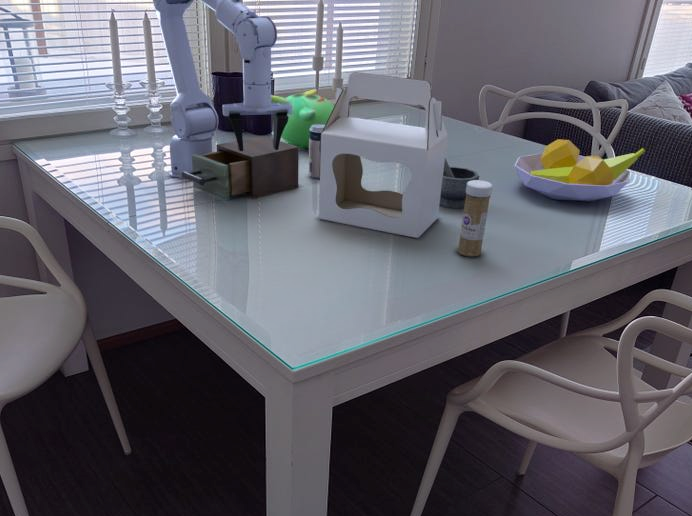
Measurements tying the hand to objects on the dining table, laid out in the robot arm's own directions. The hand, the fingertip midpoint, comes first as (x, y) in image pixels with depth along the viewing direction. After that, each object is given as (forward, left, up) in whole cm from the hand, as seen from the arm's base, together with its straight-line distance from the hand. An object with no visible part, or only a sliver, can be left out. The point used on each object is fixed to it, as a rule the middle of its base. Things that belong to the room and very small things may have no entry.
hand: (258, 149), depth 150 cm
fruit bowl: (+68, +29, -10) cm, 75 cm away
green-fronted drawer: (-8, -2, -9) cm, 12 cm away
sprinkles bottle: (+48, -17, -10) cm, 52 cm away
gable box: (+28, -5, -10) cm, 31 cm away
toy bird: (-3, +44, -10) cm, 45 cm away
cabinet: (-3, +7, -10) cm, 12 cm away
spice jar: (+8, +19, -10) cm, 23 cm away
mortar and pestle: (+41, +11, -10) cm, 44 cm away
